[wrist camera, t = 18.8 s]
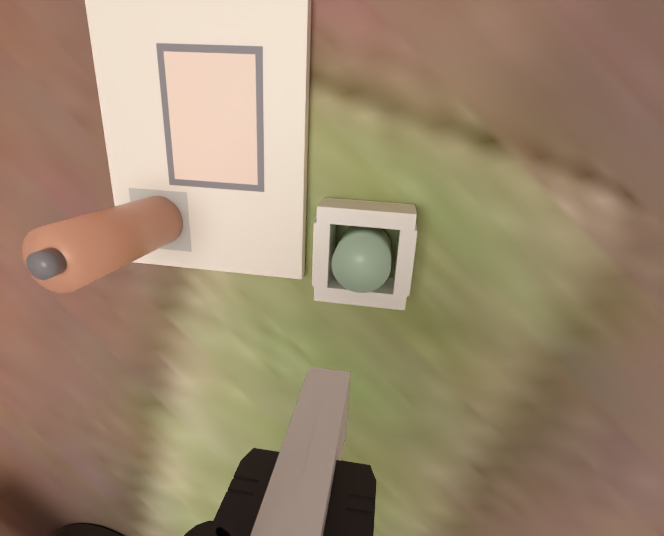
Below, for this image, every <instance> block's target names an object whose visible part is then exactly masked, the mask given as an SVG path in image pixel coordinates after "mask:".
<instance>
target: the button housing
mask: <svg viewBox="0 0 664 536" xmlns="http://www.w3.org/2000/svg"><path fill="white" fill-rule="evenodd" d="M416 216H417V213H416V208H415V204H405V203H392V202H379V201H366V200H352V199H339V198H326V197H325V198H324V199H323V200H322V201H321V203H320V204H319V205H318V206H317V219H316V220H315V222H314V231H313V262H312V286H314V301H322V302H332V303H341V304H350V305H359V306H368V307H378V308H387V309H396V310H405V305H406V297H407V296H409V295H410V287H411V279H412V271H413V264H414V256H415V248H416V240H417V232H418V231H417V225H416ZM336 225H348V226H360V227H372V228H383V229H395V230H399V232H398V241H397V250H396V259H395V268H394V277H388V279H387V280H386V282H385V283H384V284H383V285H382V286H381V287H380V288H378V289H376V290H374V291H371V292H367V293H357V292H353V291H350V290H348V289H346V288H344V287H343V286H342V285H341V284H340V283H339V282H338V281H337V280H336V278H335V277H334V274H333V271H332V264H331V263H332V257H333V254H334V252H335V239H336Z"/></svg>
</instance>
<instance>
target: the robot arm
mask: <svg viewBox="0 0 664 536" xmlns="http://www.w3.org/2000/svg"><path fill="white" fill-rule="evenodd" d="M349 384H350V372H346V371H339V370H331V369H323V368H315V367H309V370H308V373H307V375H306V378H305V381H304V384H303V387H302V390H301V393H300V395H299V398H298V401H297V404H296V407H295V410H294V413H293V415H292V418H291V421H290V424H289V427H288V430H287V433H286V435H285V438H284V441H283V444H282V447H281V450H280V452H276V451H269V450H263V449H257V448H253V449H252V450H251V451H250V452H249V453H248V454H247V455H246V456H245V457H244V458H243V459H242V460H241V461H240V464H239V466H238V468H237V470H236V472H235V475H234V478H233V479H232V481H231V483H230V486H229V488H228V492H226V494H225V497H224V499H223V501H222V503H221V505H220V508H219V510H218V512H217V514H216V516H215V519H214V521H207V522H204V523H201V524H199V525H196V526H195V527H194V528H192V529H191V530H190V531H188V532H187V533H186V534H185V535H184V536H373V531H374V513H375V496H376V479H375V477H374V474H373V471H372V469H371V466H370V465H366V464H359V463H353V462H346V461H341V459H342V453H343V447H344V441H345V434H346V424H347V411H348V398H349ZM53 536H121V535H119V534H117V533H115V532H113V531H111V530H108V529H106V528H102V527H99V526H95V525H89V524H73V525H68V526H65V527H63V528H61V529H59V530H58V531H57V532H56V533H55V534H54V535H53Z"/></svg>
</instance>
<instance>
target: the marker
mask: <svg viewBox="0 0 664 536" xmlns="http://www.w3.org/2000/svg"><path fill="white" fill-rule="evenodd" d="M182 228H183V220H182V216H181V213H180V211H179V209H178V208H177V206H176V205H175V204H174V203H173V202H172V201H170V200H169V199H167V198H165V197H162V196H151V197H147V198H143V199H140V200H136V201H133V202H129V203H125V204H122V205H118V206H114V207H111V208H107V209H104V210H100V211H96V212H93V213H89V214H85V215H82V216H78V217H75V218H71V219H67V220H64V221H60V222H56V223H53V224H49V225H46V226H42V227H38V228H36V229H33V230H32V231H30V232H29V233H28V234H27V236H26V237H25V239H24V242H23V246H22V254H23V260H24V263H25V265H26V267H27V269H28V271H29V273H30V274H31V275H32V277H33V278H34V279H35V280H36V281H37V282H38V283H39V284H40V285H42V286H43V287H45V288H46V289H48V290H51V291H53V292H57V293H70V292H73V291H75V290H77V289H79V288H81V287H83V286H85V285H87V284H89V283H91V282H93V281H95V280H97V279H99V278H101V277H103V276H105V275H107V274H109V273H111V272H113V271H115V270H117V269H119V268H121V267H123V266H125V265H127V264H129V263H131V262H133V261H135V260H137V259H139V258H141V257H143V256H145V255H147V254H149V253H151V252H153V251H155V250H157V249H159V248H161V247H163V246H165V245H167V244H169V243H171V242H173V241H175V240H176V239H177V238H178V237H179V235H180V234H181V232H182Z"/></svg>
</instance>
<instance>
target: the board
mask: <svg viewBox="0 0 664 536" xmlns="http://www.w3.org/2000/svg"><path fill="white" fill-rule="evenodd" d="M85 4H86V11H87V18H88V24H89V31H90V38H91V45H92V52H93V59H94V66H95V73H96V80H97V87H98V94H99V100H100V107H101V114H102V121H103V128H104V135H105V142H106V149H107V156H108V163H109V169H110V176H111V183H112V190H113V197H114V204H115V206H118V205H122V204H125V203H129V202H133V201H136V200H140V199H143V198H147V197H151V196H162V197H165V198H167V199H169V200H170V201H172V202H173V203H174V204H175V205H176V206H177V208H178V209H179V211H180V213H181V216H182V220H183V228H182V232H181V234H180V235H179V237H178V238H177V239H176V240H175V241H173V242H171V243H169V244H167V245H165V246H163V247H161V248H159V249H157V250H155V251H153V252H151V253H149V254H147V255H145V256H143V257H141V258H139V259H137V260H135V261H133V262H137V263H147V264H156V265H166V266H176V267H186V268H196V269H205V270H215V271H225V272H235V273H245V274H254V275H264V276H274V277H284V278H293V279H302V278H303V276H304V274H305V239H306V199H307V159H308V119H309V79H310V39H311V0H85Z"/></svg>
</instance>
